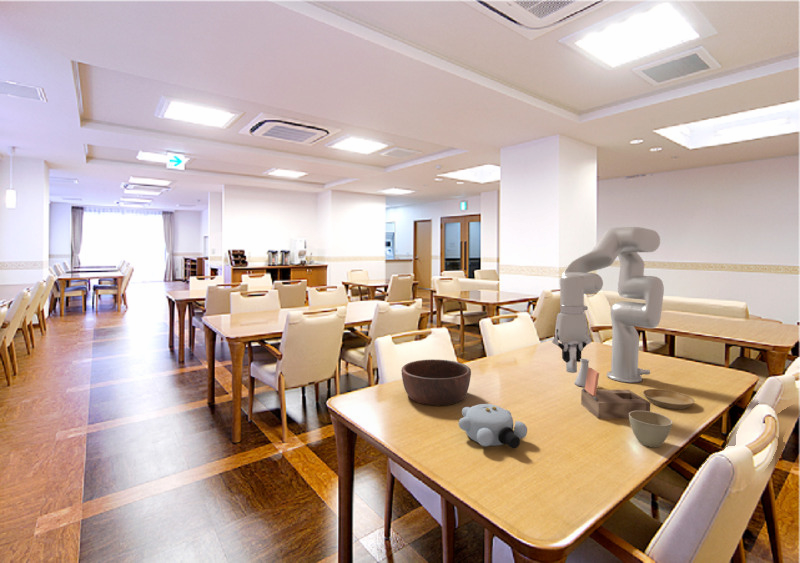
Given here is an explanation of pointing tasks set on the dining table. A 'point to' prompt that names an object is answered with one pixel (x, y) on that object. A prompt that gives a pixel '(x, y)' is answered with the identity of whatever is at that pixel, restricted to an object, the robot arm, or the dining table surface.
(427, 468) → the dining table surface
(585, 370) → the flask
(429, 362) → the wooden bowl
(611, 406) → the block
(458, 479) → the dining table surface
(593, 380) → the plate
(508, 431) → the figurine
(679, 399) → the plant saucer
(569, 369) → the pin
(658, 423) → the beige bowl
